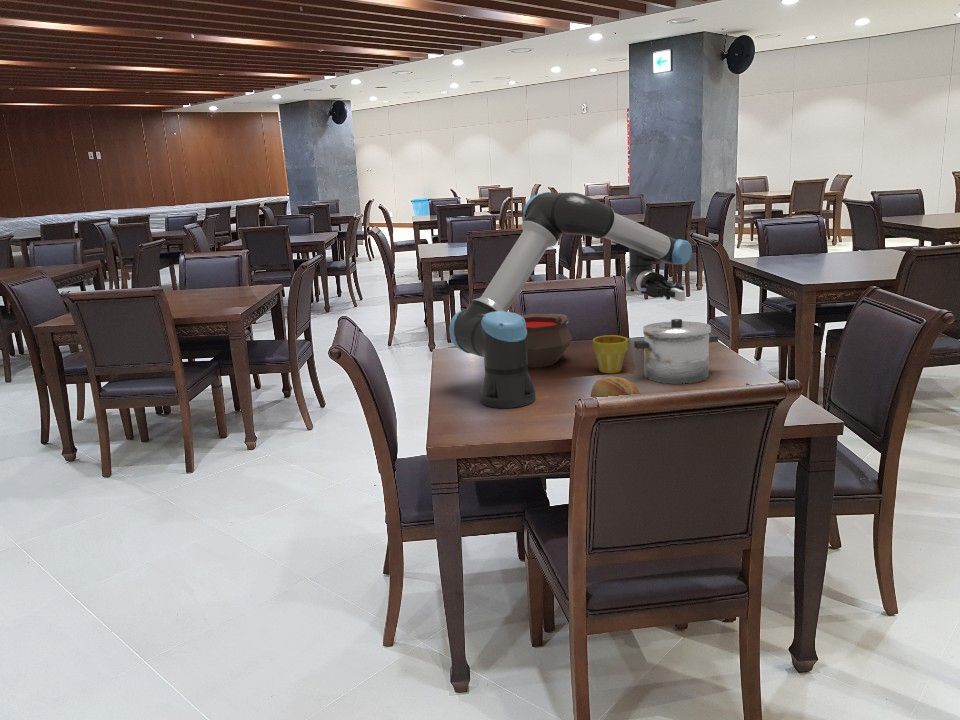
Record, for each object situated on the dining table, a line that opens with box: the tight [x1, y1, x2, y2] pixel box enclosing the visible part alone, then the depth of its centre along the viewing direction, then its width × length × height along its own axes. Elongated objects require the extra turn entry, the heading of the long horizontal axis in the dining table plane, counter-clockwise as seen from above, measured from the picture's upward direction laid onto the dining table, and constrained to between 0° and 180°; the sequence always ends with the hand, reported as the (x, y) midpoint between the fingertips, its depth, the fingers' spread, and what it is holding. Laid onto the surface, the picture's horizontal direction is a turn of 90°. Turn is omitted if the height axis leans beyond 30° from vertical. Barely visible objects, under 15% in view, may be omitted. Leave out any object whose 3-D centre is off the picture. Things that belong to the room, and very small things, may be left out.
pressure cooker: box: [633, 333, 719, 385], centre depth 211 cm, size 24×21×12 cm
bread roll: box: [590, 376, 641, 398], centre depth 186 cm, size 10×15×8 cm, turn 39°
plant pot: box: [592, 334, 629, 374], centre depth 219 cm, size 10×10×10 cm
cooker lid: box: [642, 318, 712, 338], centre depth 208 cm, size 19×19×4 cm
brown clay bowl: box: [508, 308, 574, 369], centre depth 233 cm, size 24×24×16 cm
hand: (682, 296), depth 206 cm, fingers closed
